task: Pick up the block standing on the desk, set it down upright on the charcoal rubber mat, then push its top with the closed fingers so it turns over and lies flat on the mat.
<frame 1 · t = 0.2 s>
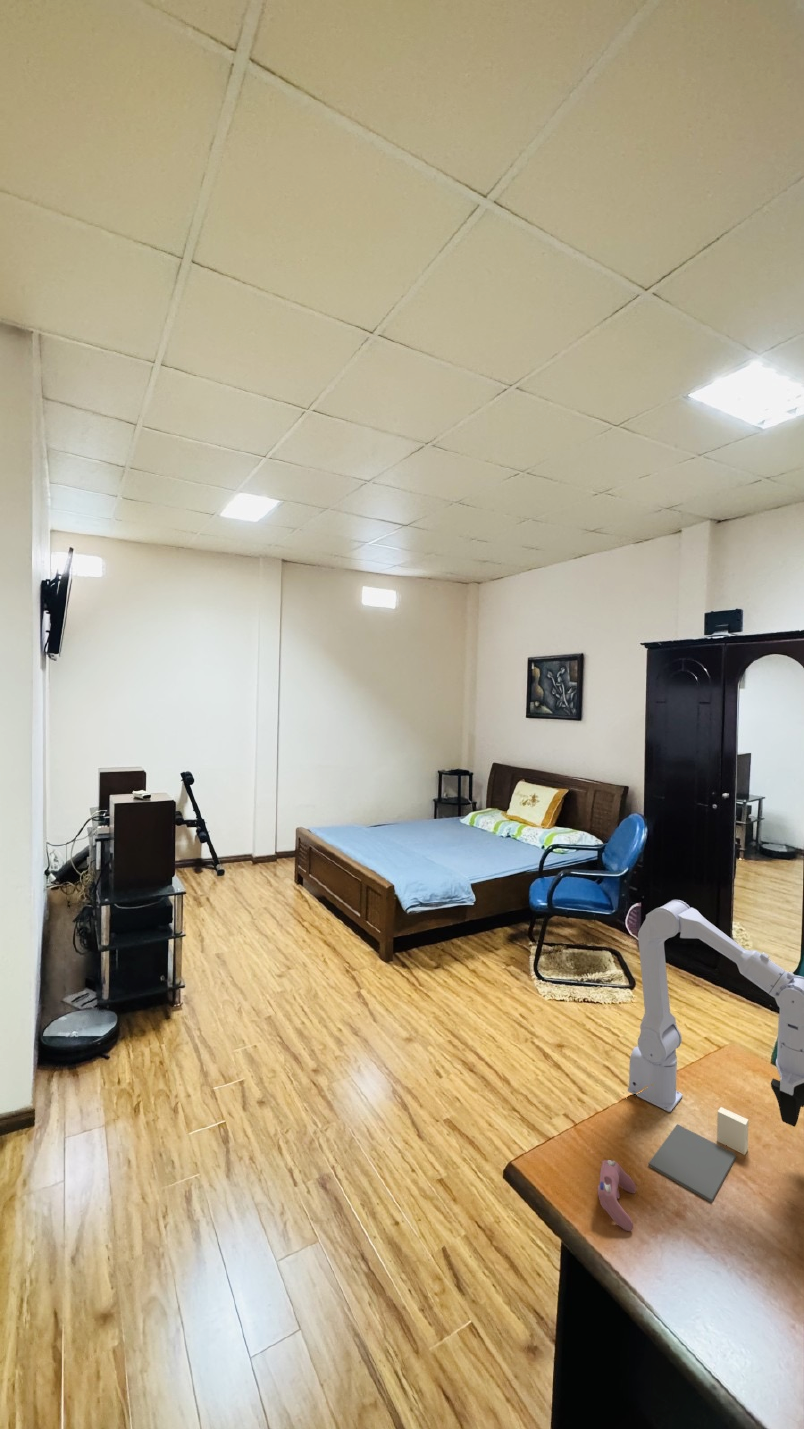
hand: (793, 1113, 108), 10 cm above the table, fingers open, 7 cm apart
mat: (692, 1161, 108), on the table
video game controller: (616, 1207, 98), on the table
block: (732, 1145, 113), on the table
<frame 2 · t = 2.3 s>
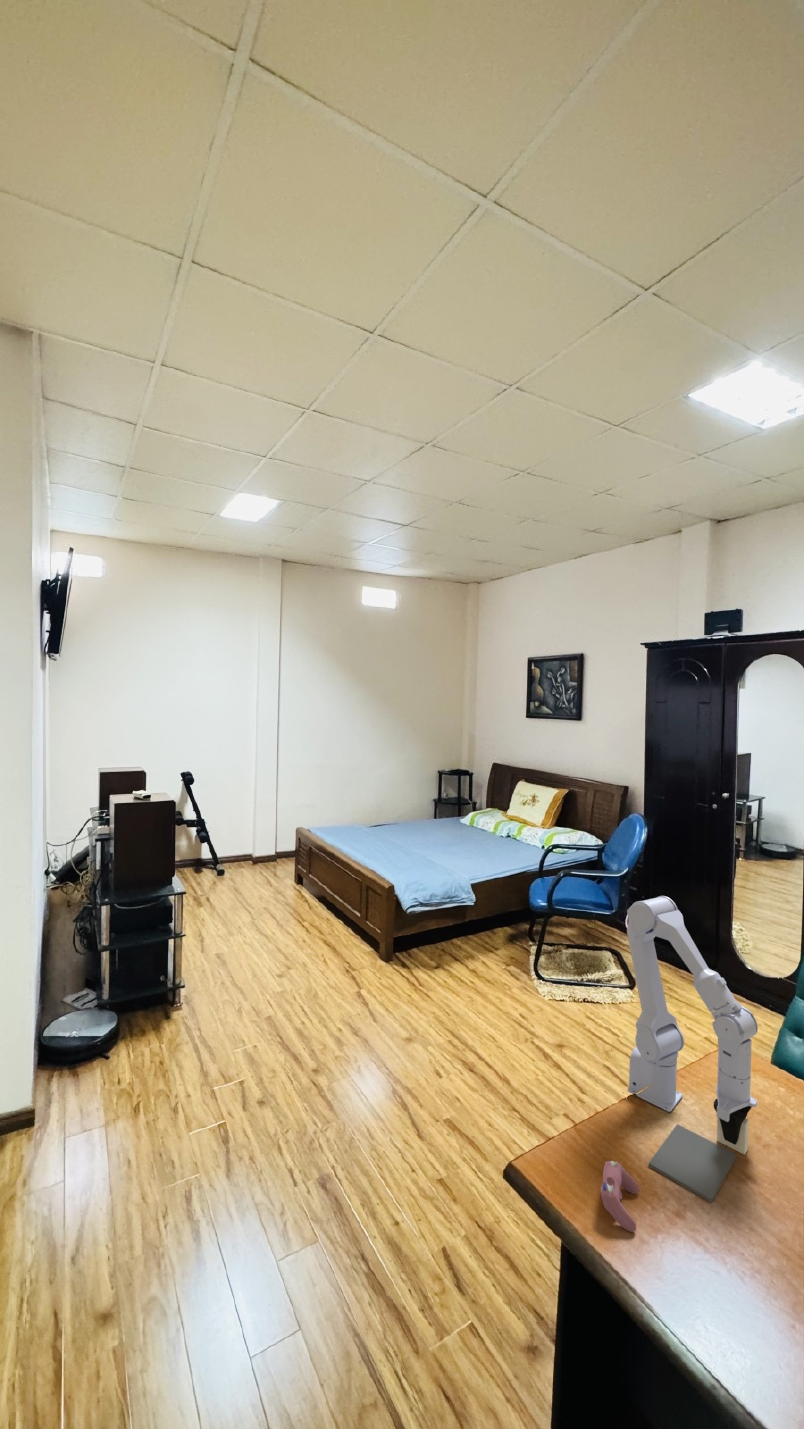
hand: (732, 1137, 113), 1 cm above the table, fingers closed on block, 2 cm apart
block: (732, 1144, 113), on the table, touching gripper
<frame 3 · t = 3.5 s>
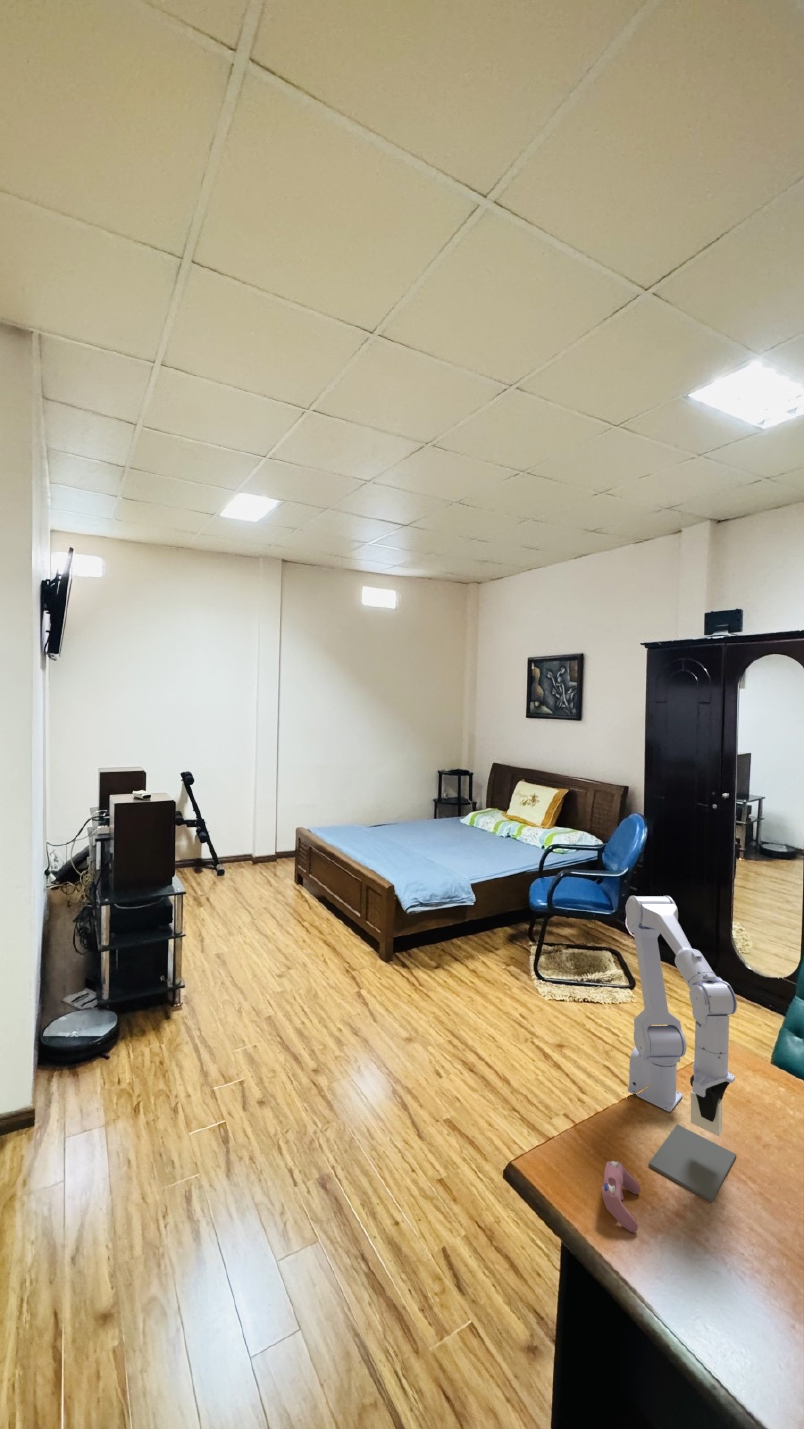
hand: (709, 1115, 109), 9 cm above the table, fingers closed on block
block: (706, 1126, 109), point 6 cm above the table, touching gripper
everything else where it was.
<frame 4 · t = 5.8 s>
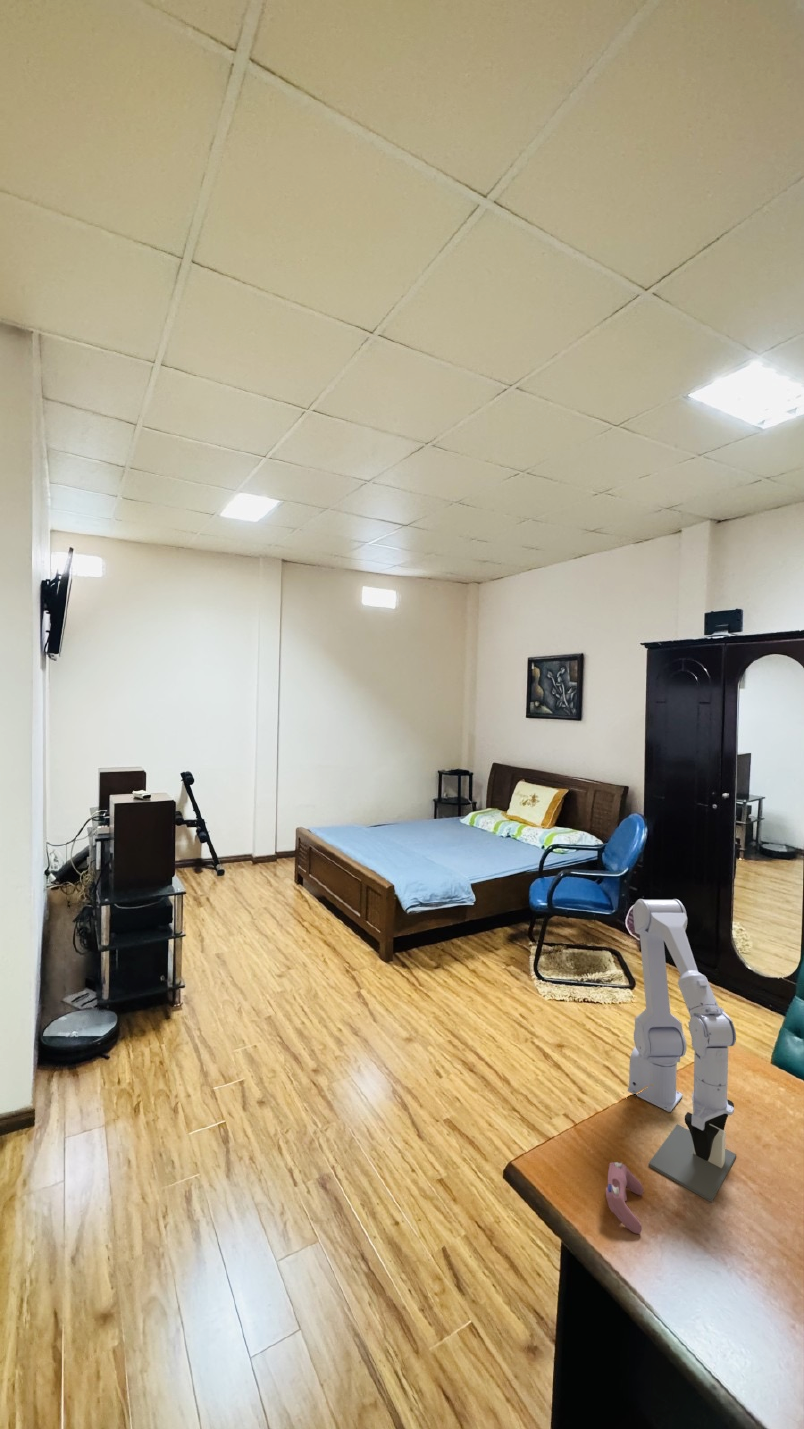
hand: (708, 1146, 109), 3 cm above the table, fingers open, 7 cm apart
block: (708, 1157, 109), point 1 cm above the table, touching mat
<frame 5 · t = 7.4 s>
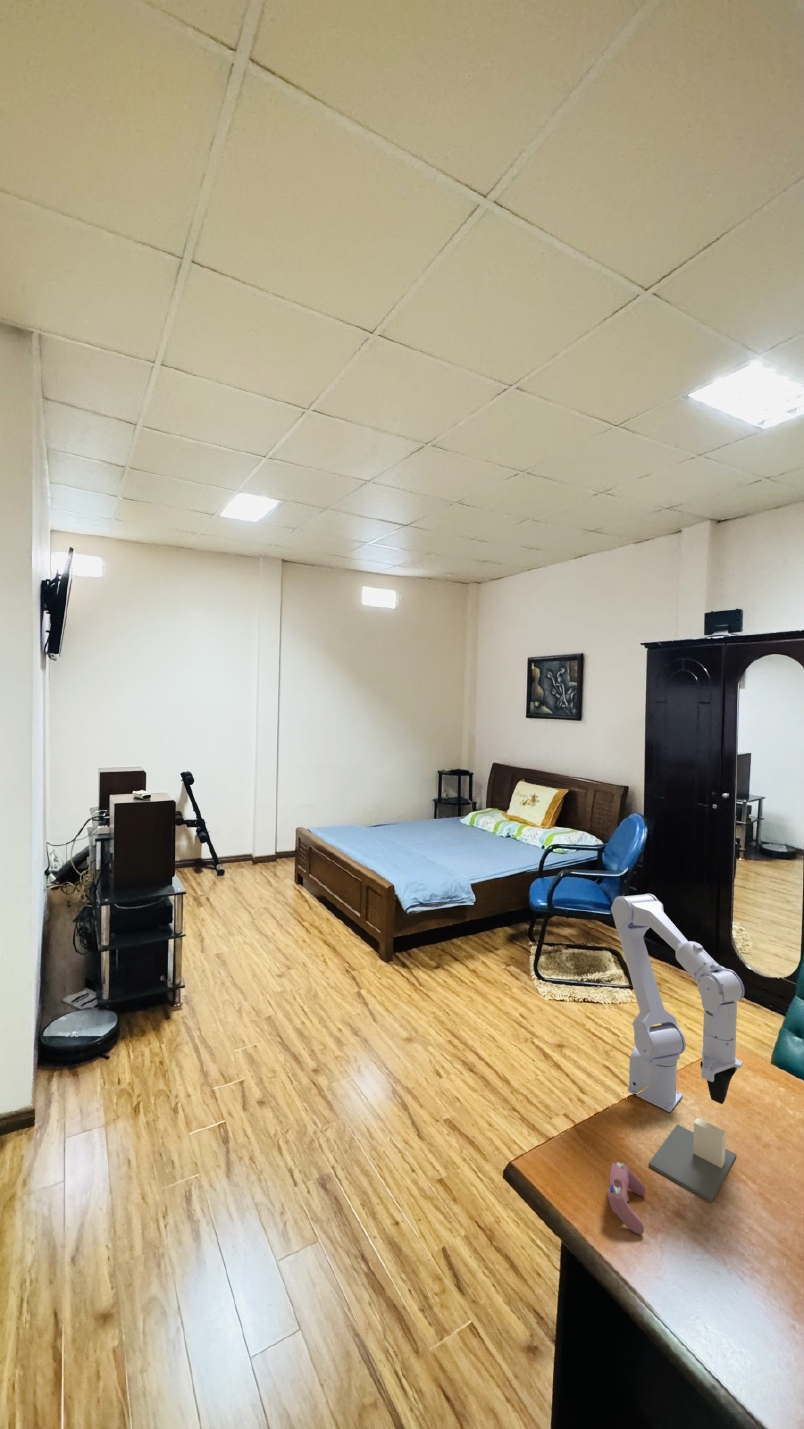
hand: (717, 1100, 112), 9 cm above the table, fingers closed
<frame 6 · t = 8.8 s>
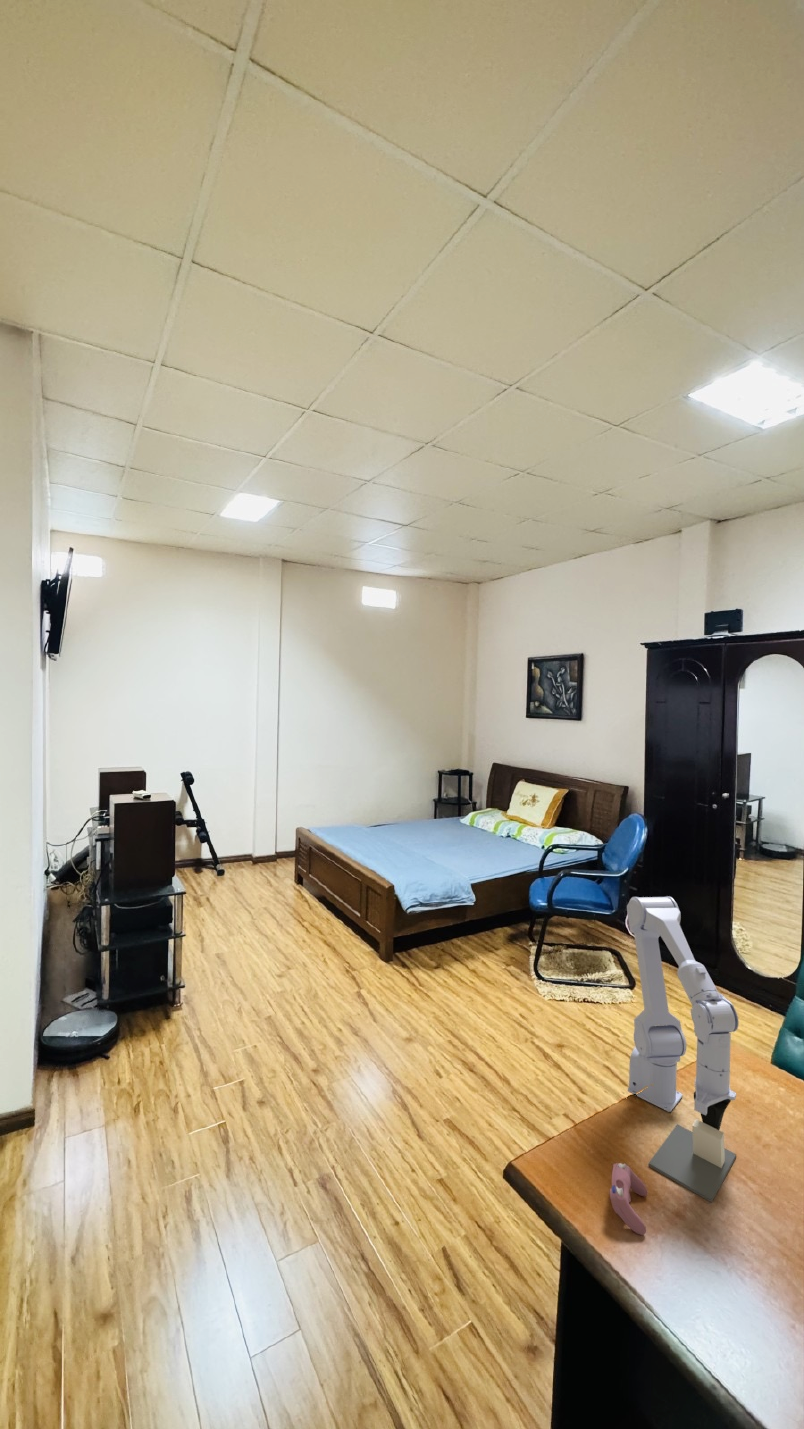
hand: (711, 1132, 109), 5 cm above the table, fingers closed
block: (708, 1157, 109), point 1 cm above the table, tilted 9°, touching gripper, mat
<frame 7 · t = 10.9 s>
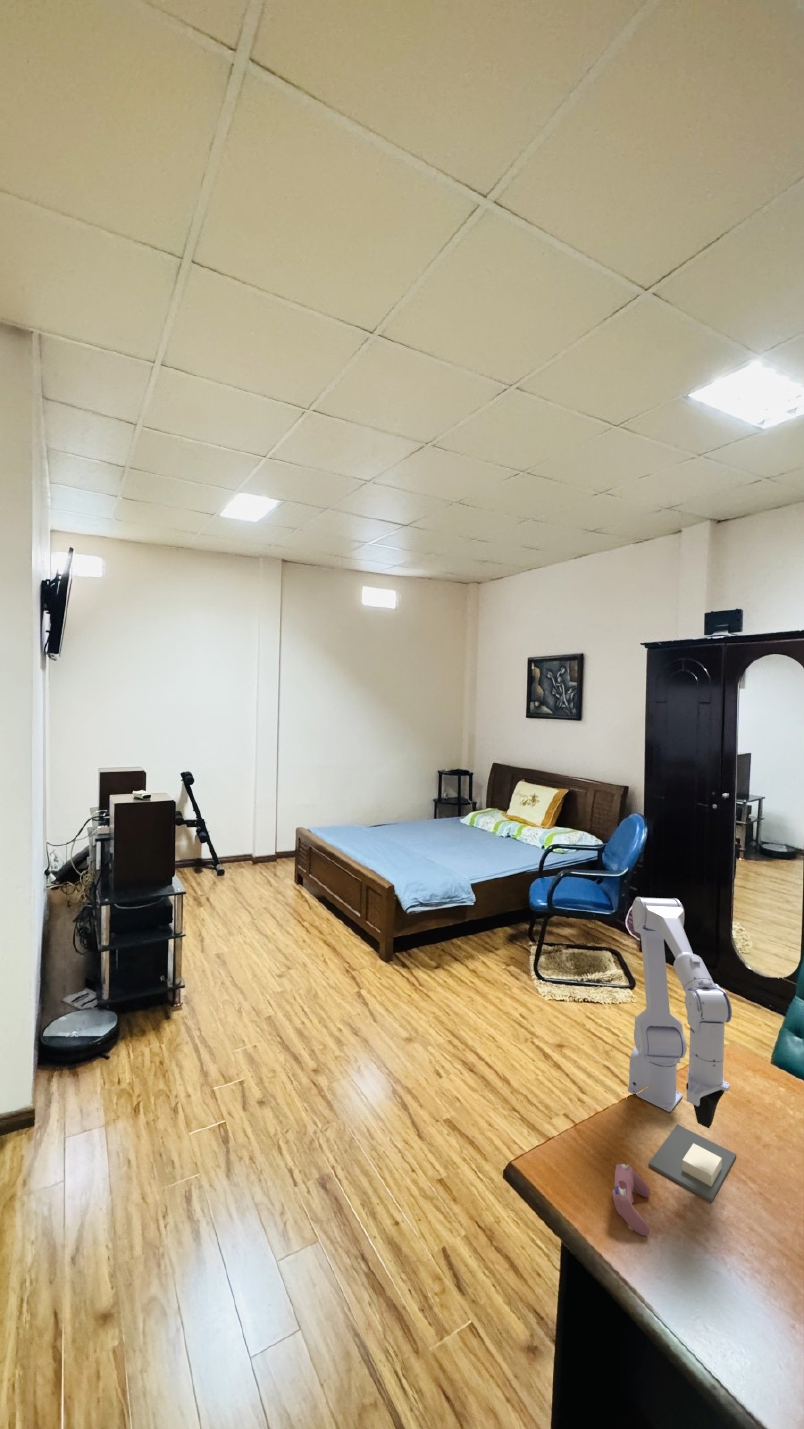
hand: (704, 1123, 107), 9 cm above the table, fingers closed
block: (707, 1155, 108), point 2 cm above the table, tilted 90°, touching mat
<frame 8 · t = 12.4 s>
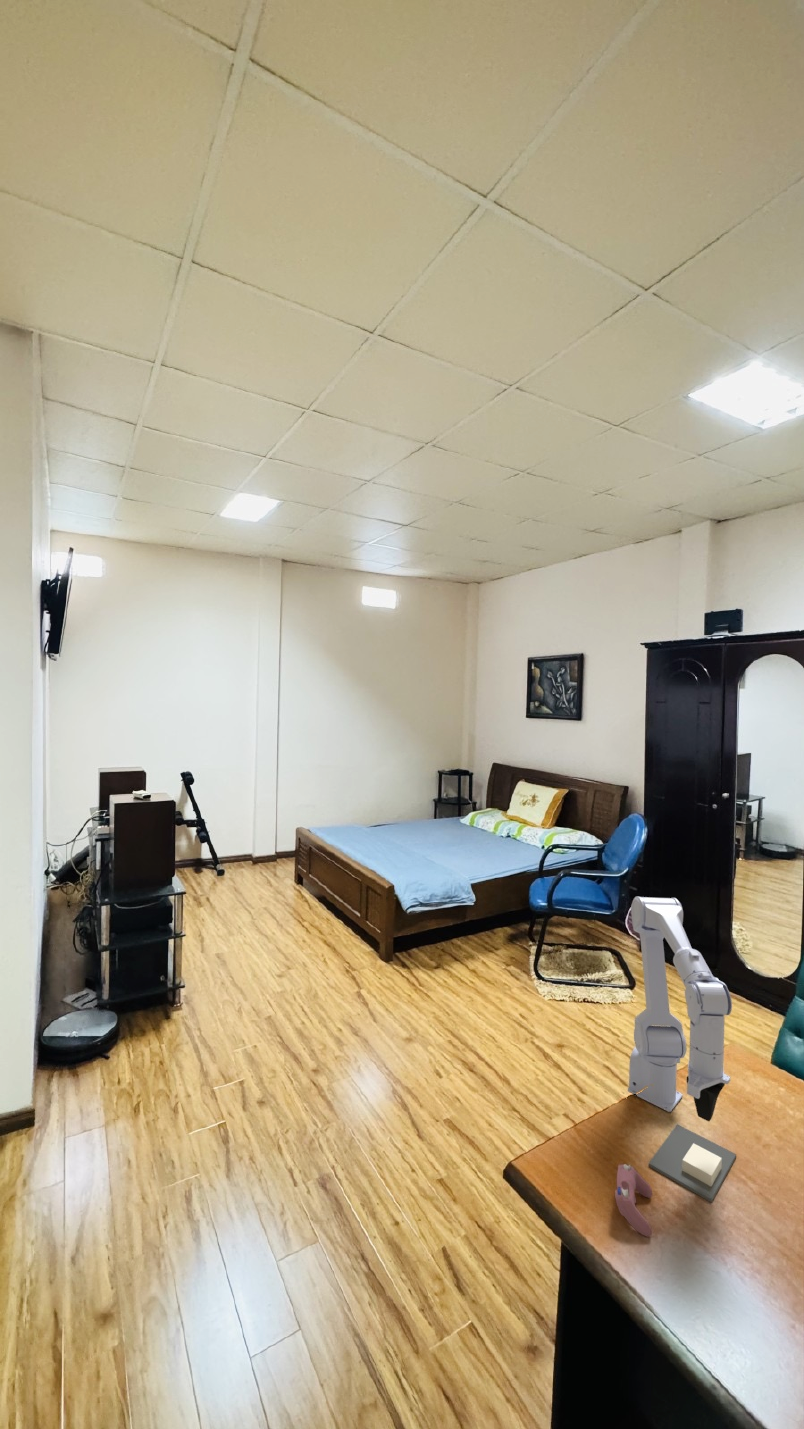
hand: (704, 1117, 107), 10 cm above the table, fingers closed
at the end: block tilted 90°; block inside the target area on the mat (2.5 cm from its centre), point 1.6 cm above the mat's base; the gripper is holding nothing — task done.
